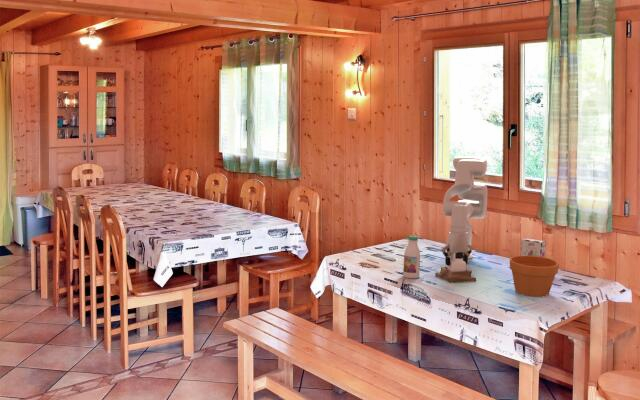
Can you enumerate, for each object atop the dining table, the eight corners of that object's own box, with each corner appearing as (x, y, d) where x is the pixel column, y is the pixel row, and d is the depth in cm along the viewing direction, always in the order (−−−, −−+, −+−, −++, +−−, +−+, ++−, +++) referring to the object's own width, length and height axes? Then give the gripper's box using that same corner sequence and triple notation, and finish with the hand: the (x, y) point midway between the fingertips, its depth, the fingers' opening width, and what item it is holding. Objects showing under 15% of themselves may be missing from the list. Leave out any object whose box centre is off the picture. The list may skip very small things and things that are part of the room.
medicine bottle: (460, 273, 315) (461, 249, 314) (465, 276, 308) (466, 252, 307) (446, 273, 315) (447, 249, 313) (450, 276, 308) (452, 252, 306)
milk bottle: (409, 274, 317) (411, 234, 314) (422, 277, 312) (424, 236, 309) (399, 276, 312) (401, 235, 309) (412, 279, 306) (414, 238, 304)
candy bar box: (544, 272, 329) (546, 241, 326) (539, 274, 325) (542, 242, 323) (523, 268, 336) (525, 237, 334) (519, 269, 332) (521, 238, 330)
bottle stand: (435, 275, 315) (435, 266, 315) (459, 273, 321) (460, 264, 320) (451, 282, 303) (451, 273, 302) (476, 280, 308) (476, 271, 307)
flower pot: (544, 302, 276) (547, 268, 274) (499, 292, 289) (501, 260, 287) (563, 293, 291) (566, 261, 289) (519, 283, 305) (522, 253, 303)
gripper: (469, 227, 315) (467, 261, 317) (438, 229, 309) (436, 263, 311) (478, 230, 308) (476, 265, 310) (447, 231, 302) (445, 267, 304)
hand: (456, 264), depth 311 cm, fingers open, 9 cm apart
